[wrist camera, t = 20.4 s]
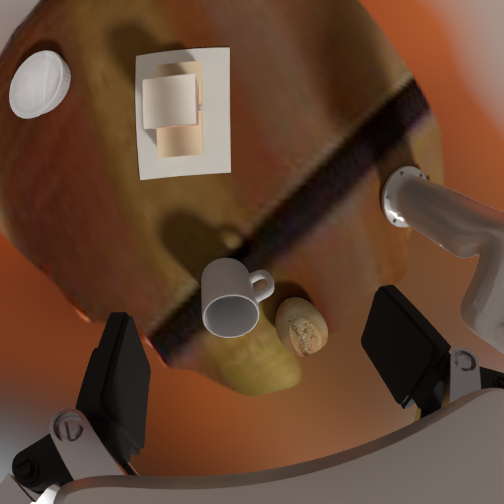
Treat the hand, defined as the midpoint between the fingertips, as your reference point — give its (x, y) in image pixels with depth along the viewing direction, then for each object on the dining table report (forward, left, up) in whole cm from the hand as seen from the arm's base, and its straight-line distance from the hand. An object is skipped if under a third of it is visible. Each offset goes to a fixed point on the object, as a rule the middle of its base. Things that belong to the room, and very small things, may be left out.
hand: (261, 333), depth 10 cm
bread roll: (-15, +30, -35) cm, 48 cm away
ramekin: (+28, -19, -35) cm, 48 cm away
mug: (-2, +18, -34) cm, 39 cm away
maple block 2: (+5, -7, -34) cm, 35 cm away
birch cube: (+5, -10, -24) cm, 26 cm away
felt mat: (+5, -10, -34) cm, 36 cm away
